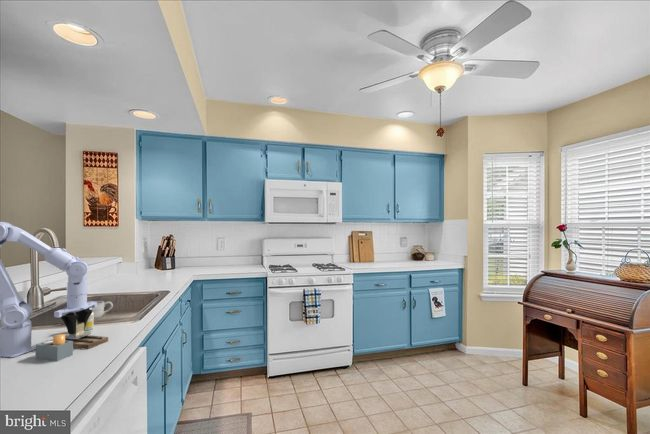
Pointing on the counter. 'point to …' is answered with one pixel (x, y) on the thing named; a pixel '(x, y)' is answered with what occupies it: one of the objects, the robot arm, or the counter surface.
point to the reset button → (59, 339)
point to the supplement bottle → (90, 322)
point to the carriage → (78, 332)
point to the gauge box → (53, 350)
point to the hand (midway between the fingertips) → (76, 332)
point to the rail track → (88, 341)
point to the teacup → (100, 309)
